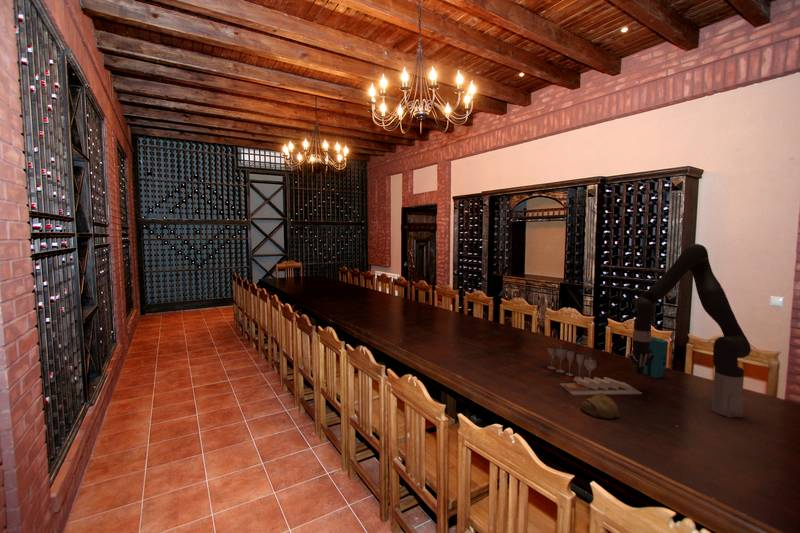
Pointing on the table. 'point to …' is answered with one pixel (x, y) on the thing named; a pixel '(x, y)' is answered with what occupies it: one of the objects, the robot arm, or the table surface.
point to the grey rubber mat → (605, 391)
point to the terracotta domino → (575, 387)
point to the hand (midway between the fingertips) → (639, 373)
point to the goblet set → (570, 359)
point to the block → (657, 358)
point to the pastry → (600, 406)
